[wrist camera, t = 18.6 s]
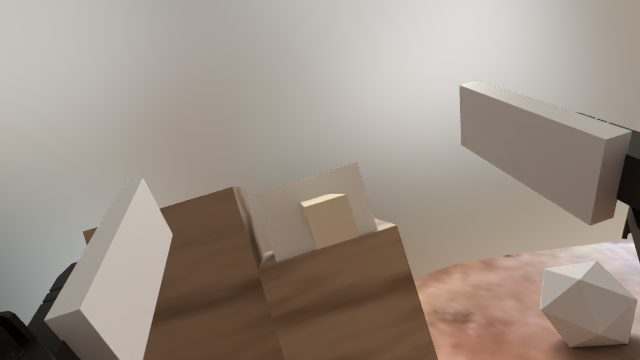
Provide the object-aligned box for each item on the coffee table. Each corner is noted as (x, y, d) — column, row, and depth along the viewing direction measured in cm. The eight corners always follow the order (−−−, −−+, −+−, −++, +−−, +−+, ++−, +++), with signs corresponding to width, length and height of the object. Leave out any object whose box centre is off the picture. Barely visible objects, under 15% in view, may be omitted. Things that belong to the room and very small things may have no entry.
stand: (467, 456, 30) (372, 145, 30) (182, 566, 28) (83, 231, 28) (430, 400, 38) (355, 155, 38) (206, 483, 36) (128, 223, 36)
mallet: (425, 249, 20) (393, 145, 20) (267, 301, 19) (235, 193, 19) (363, 223, 37) (346, 167, 37) (278, 250, 36) (261, 193, 36)
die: (635, 321, 42) (558, 256, 47) (683, 311, 34) (584, 234, 39) (582, 370, 41) (509, 298, 46) (619, 371, 33) (526, 284, 38)
